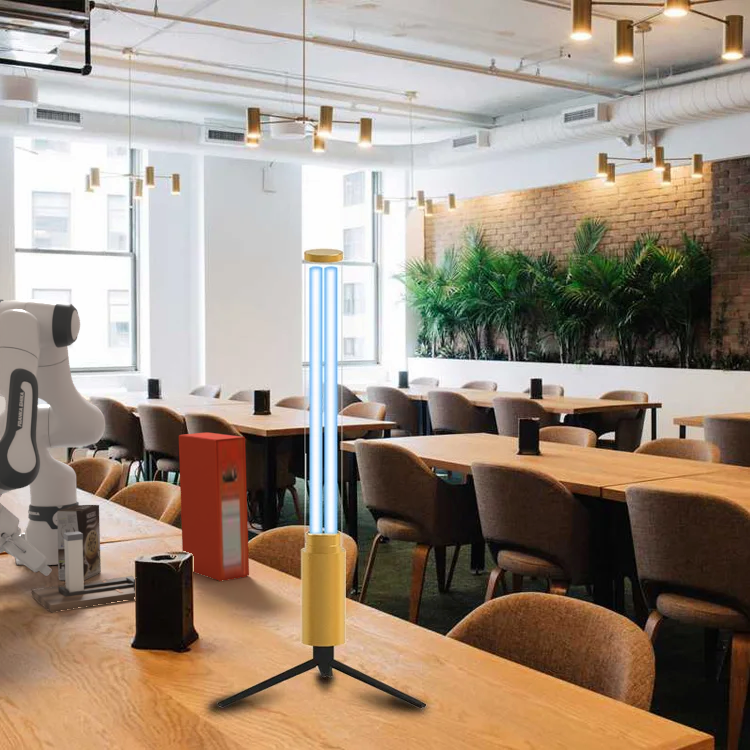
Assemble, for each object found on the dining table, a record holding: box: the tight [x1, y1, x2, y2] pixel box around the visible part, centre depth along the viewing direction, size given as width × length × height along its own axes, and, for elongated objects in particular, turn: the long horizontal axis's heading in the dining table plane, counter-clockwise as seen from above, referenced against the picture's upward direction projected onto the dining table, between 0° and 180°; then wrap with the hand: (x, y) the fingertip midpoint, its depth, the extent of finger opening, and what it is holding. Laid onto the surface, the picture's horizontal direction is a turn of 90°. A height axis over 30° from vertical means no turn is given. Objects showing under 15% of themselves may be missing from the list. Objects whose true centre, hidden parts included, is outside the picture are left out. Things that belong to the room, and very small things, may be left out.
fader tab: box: [63, 531, 85, 592], centre depth 221 cm, size 3×3×12 cm
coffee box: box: [57, 504, 102, 581], centre depth 242 cm, size 9×6×16 cm
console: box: [31, 575, 135, 613], centre depth 223 cm, size 16×22×4 cm
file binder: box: [178, 431, 250, 582], centre depth 243 cm, size 8×17×32 cm, turn 38°
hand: (47, 572), depth 218 cm, fingers closed
